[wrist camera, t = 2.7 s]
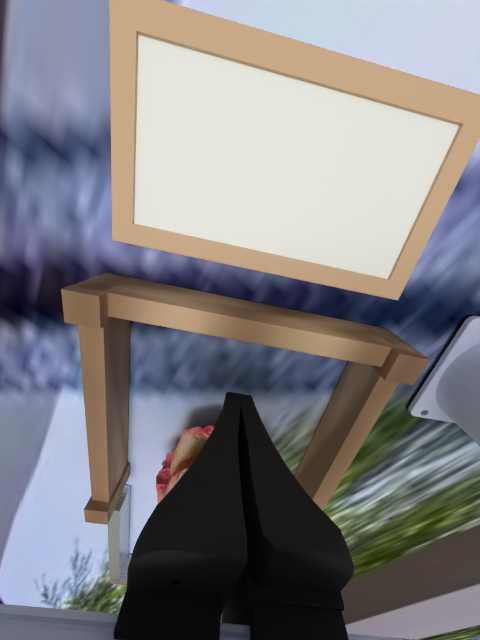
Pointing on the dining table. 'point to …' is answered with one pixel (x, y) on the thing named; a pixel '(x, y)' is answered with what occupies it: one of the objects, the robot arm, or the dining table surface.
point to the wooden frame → (238, 324)
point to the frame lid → (277, 150)
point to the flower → (181, 458)
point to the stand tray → (119, 539)
